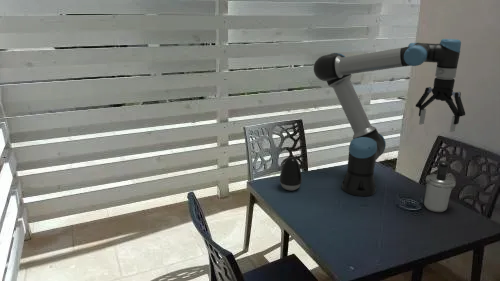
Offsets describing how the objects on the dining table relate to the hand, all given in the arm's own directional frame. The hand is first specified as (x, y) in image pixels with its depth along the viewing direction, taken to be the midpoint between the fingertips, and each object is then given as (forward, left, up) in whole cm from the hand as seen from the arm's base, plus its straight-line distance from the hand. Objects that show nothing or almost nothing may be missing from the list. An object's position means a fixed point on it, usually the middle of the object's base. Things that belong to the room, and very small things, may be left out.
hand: (436, 127), depth 163 cm
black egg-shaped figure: (-39, -47, -31) cm, 68 cm away
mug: (+11, -9, -31) cm, 34 cm away
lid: (+10, -9, -20) cm, 24 cm away
